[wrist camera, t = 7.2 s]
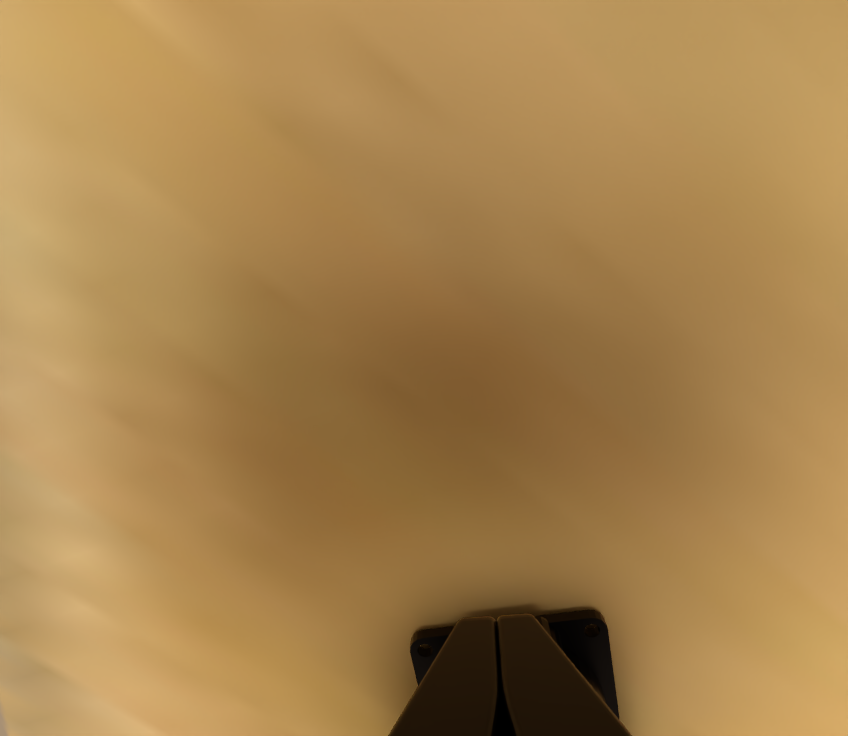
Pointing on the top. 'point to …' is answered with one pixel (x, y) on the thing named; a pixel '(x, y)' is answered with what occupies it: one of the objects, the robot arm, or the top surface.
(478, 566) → the top surface
